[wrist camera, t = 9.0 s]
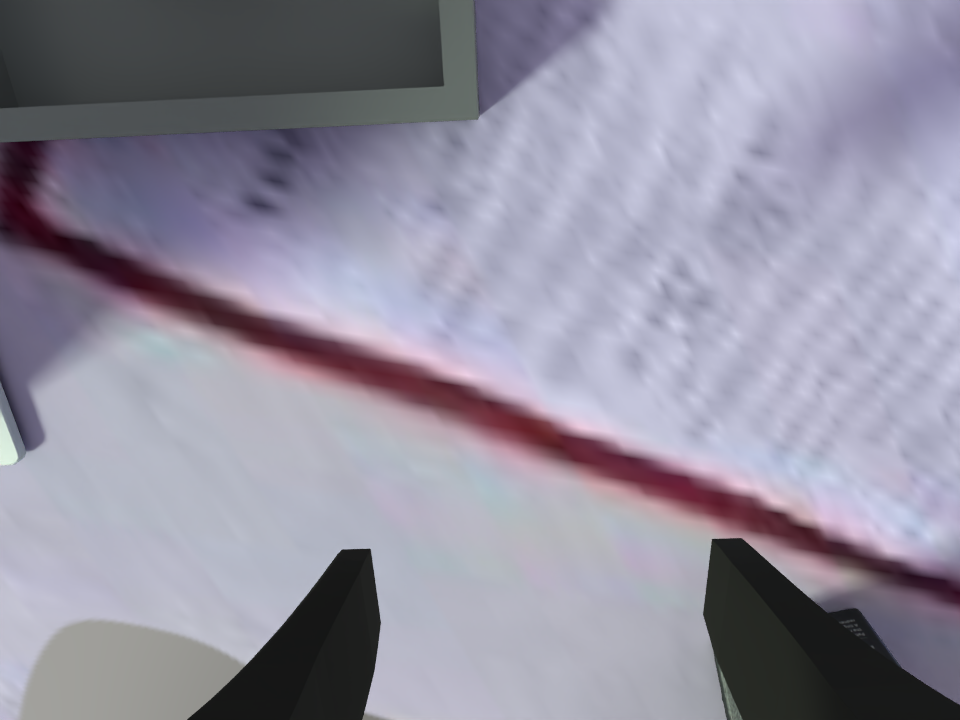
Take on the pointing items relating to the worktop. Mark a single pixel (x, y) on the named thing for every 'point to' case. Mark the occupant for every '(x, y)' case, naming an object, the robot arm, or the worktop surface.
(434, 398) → the worktop surface
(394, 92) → the tray
